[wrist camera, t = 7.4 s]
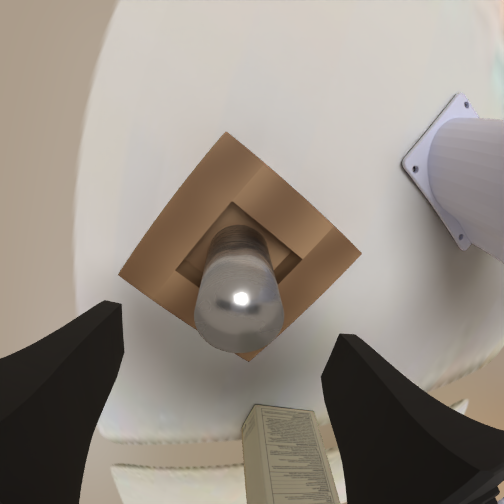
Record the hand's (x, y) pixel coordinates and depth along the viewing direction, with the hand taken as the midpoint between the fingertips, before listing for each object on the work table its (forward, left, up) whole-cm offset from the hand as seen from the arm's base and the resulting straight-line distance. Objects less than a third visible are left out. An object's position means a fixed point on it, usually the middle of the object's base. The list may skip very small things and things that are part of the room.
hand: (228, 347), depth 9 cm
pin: (-1, 0, -9) cm, 9 cm away
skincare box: (-15, +11, -10) cm, 21 cm away
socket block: (-1, 0, -10) cm, 10 cm away
